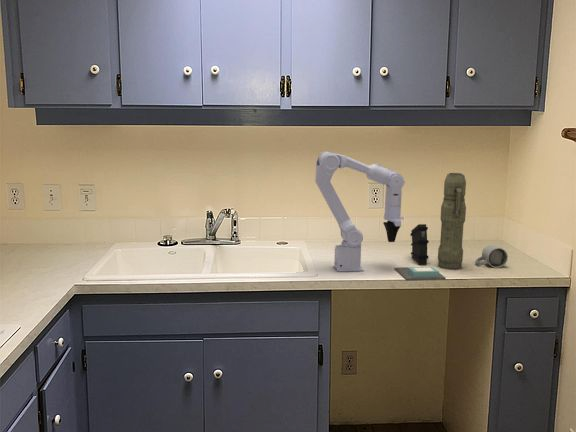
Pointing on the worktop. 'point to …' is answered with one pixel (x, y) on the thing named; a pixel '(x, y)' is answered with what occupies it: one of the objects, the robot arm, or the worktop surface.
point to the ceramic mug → (492, 257)
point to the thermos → (452, 222)
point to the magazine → (419, 244)
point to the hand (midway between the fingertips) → (391, 241)
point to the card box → (423, 272)
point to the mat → (404, 273)
